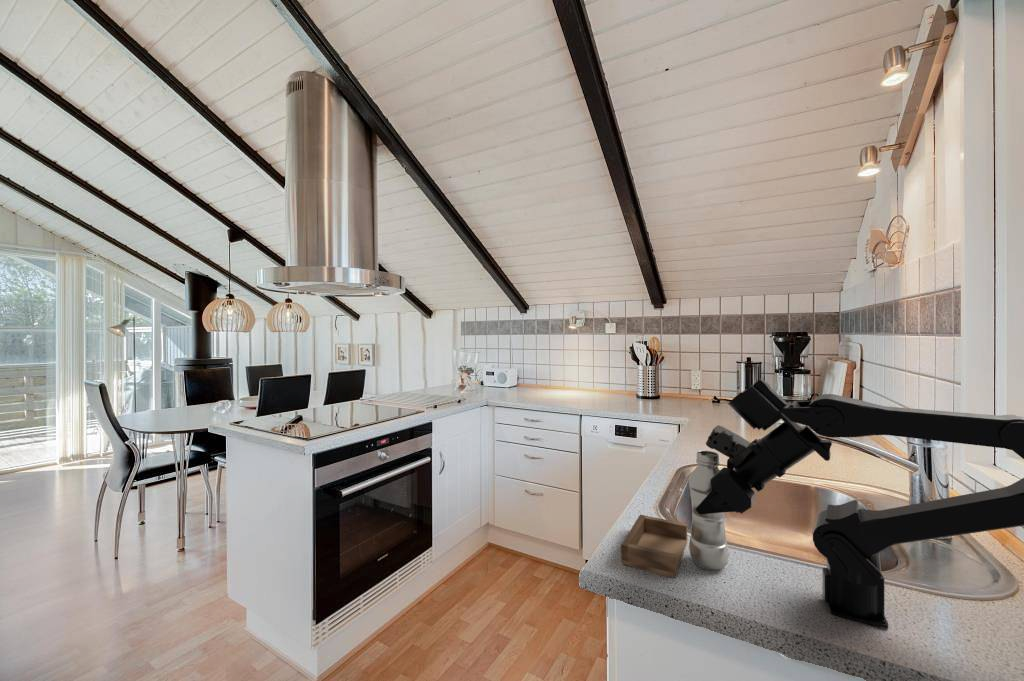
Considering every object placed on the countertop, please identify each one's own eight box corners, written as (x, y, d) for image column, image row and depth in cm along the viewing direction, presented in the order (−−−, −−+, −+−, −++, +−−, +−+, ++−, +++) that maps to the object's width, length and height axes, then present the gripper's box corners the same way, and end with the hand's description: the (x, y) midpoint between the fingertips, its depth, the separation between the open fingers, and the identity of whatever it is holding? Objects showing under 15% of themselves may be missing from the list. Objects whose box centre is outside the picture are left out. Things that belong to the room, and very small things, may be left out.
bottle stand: (687, 541, 84) (687, 523, 84) (675, 578, 71) (675, 557, 71) (640, 531, 88) (640, 514, 88) (621, 564, 76) (621, 544, 76)
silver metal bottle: (692, 573, 73) (691, 458, 72) (686, 553, 79) (685, 447, 79) (733, 577, 71) (732, 460, 71) (723, 556, 78) (722, 449, 77)
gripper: (747, 405, 79) (686, 453, 86) (725, 422, 64) (654, 479, 71) (797, 454, 74) (728, 501, 81) (786, 484, 60) (704, 539, 67)
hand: (704, 502), depth 75 cm, fingers open, 9 cm apart
